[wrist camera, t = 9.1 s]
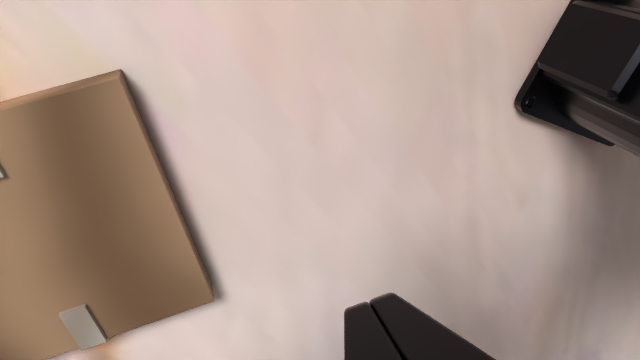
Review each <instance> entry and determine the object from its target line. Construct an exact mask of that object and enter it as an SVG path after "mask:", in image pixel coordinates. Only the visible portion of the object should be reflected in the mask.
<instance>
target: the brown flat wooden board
mask: <svg viewBox="0 0 640 360" xmlns="http://www.w3.org/2000/svg"><path fill="white" fill-rule="evenodd" d="M213 301H214V296H213V289H212V284H211V282H210V280H209V277H208V275H207V273H206V270H205V268H204V266H203V263H202V261H201V258H200V256H199V254H198V251H197V249H196V247H195V244H194V242H193V239H192V237H191V235H190V232H189V230H188V228H187V225H186V223H185V220H184V218H183V216H182V213H181V211H180V209H179V206H178V204H177V201H176V199H175V197H174V194H173V192H172V190H171V187H170V185H169V183H168V180H167V178H166V175H165V173H164V171H163V168H162V166H161V164H160V161H159V159H158V156H157V154H156V152H155V149H154V147H153V145H152V142H151V140H150V137H149V135H148V133H147V130H146V128H145V126H144V123H143V121H142V119H141V116H140V114H139V111H138V109H137V107H136V104H135V102H134V100H133V97H132V95H131V92H130V90H129V88H128V85H127V83H126V81H125V78H124V76H123V73H122V71H121V69H120V70H116V71H112V72H109V73H105V74H101V75H98V76H94V77H90V78H87V79H83V80H79V81H76V82H72V83H69V84H65V85H61V86H58V87H54V88H50V89H47V90H43V91H39V92H36V93H32V94H28V95H25V96H21V97H17V98H14V99H10V100H7V101H3V102H0V360H45V359H48V358H51V357H54V356H57V355H60V354H63V353H65V352H68V351H71V350H74V349H77V348H80V349H81V350H84V349H87V348H90V347H93V346H96V345H99V344H102V343H104V342H107V338H109V337H112V336H115V335H117V334H120V333H123V332H126V331H129V330H132V329H135V328H138V327H141V326H143V325H146V324H149V323H152V322H155V321H158V320H161V319H164V318H167V317H170V316H172V315H175V314H178V313H181V312H184V311H187V310H190V309H193V308H196V307H198V306H201V305H204V304H207V303H210V302H213Z"/></svg>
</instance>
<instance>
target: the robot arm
mask: <svg viewBox="0 0 640 360" xmlns="http://www.w3.org/2000/svg"><path fill="white" fill-rule="evenodd" d="M529 97H531V98H530V101H529V102H528V103H527V104H526V101H527V99H528V98H529ZM515 105H516V107H517V108H518V109H519V110H521V111H523V112H524V113H527V114H529V115H532V116H534V117H537V118H539V119H542V120H544V121H547V122H550V123H552V124H555V125H557V126H560V127H562V128H565V129H567V130H570V131H572V132H575V133H577V134H580V135H582V136H585V137H587V138H590V139H593V140H595V141H598V142H600V143H603V144H605V145H608V146H613V145H618V146H620V147H621V148H623V149H625V150H627V151H629V152H631V153H633V154H635V155H636V156H638V157H640V0H571V1H570V3H569V5H568V7H567V8H566V10H565V12H564V14H563V15H562V17H561V19H560V21H559V22H558V24H557V26H556V28H555V29H554V31H553V33H552V35H551V36H550V38H549V40H548V42H547V43H546V45H545V47H544V49H543V51H542V52H541V54H540V56H539V58H538V59H537V61H536V63H535V65H534V66H533V68H532V70H531V72H530V73H529V75H528V77H527V79H526V80H525V82H524V84H523V86H522V87H521V89H520V91H519V93H518V94H517V96H516V99H515ZM344 349H345V360H496V359H494V358H493V357H491V356H490V355H488V354H487V353H485V352H483V351H482V350H480V349H479V348H477V347H476V346H474V345H473V344H471V343H470V342H468V341H467V340H465V339H464V338H462V337H461V336H459V335H457V334H456V333H454V332H453V331H451V330H450V329H448V328H447V327H445V326H444V325H442V324H441V323H439V322H438V321H436V320H434V319H433V318H431V317H430V316H428V315H427V314H425V313H424V312H422V311H421V310H419V309H418V308H416V307H415V306H413V305H411V304H410V303H408V302H407V301H405V300H404V299H402V298H401V297H399V296H398V295H396V294H394V293H387V294H385V295H382V296H379V297H376V298H374V299H372V300H371V301H370V303H368V302H363V303H360V304H357V305H354V306H352V307H349V308H347V309H346V310H345V312H344Z"/></svg>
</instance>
